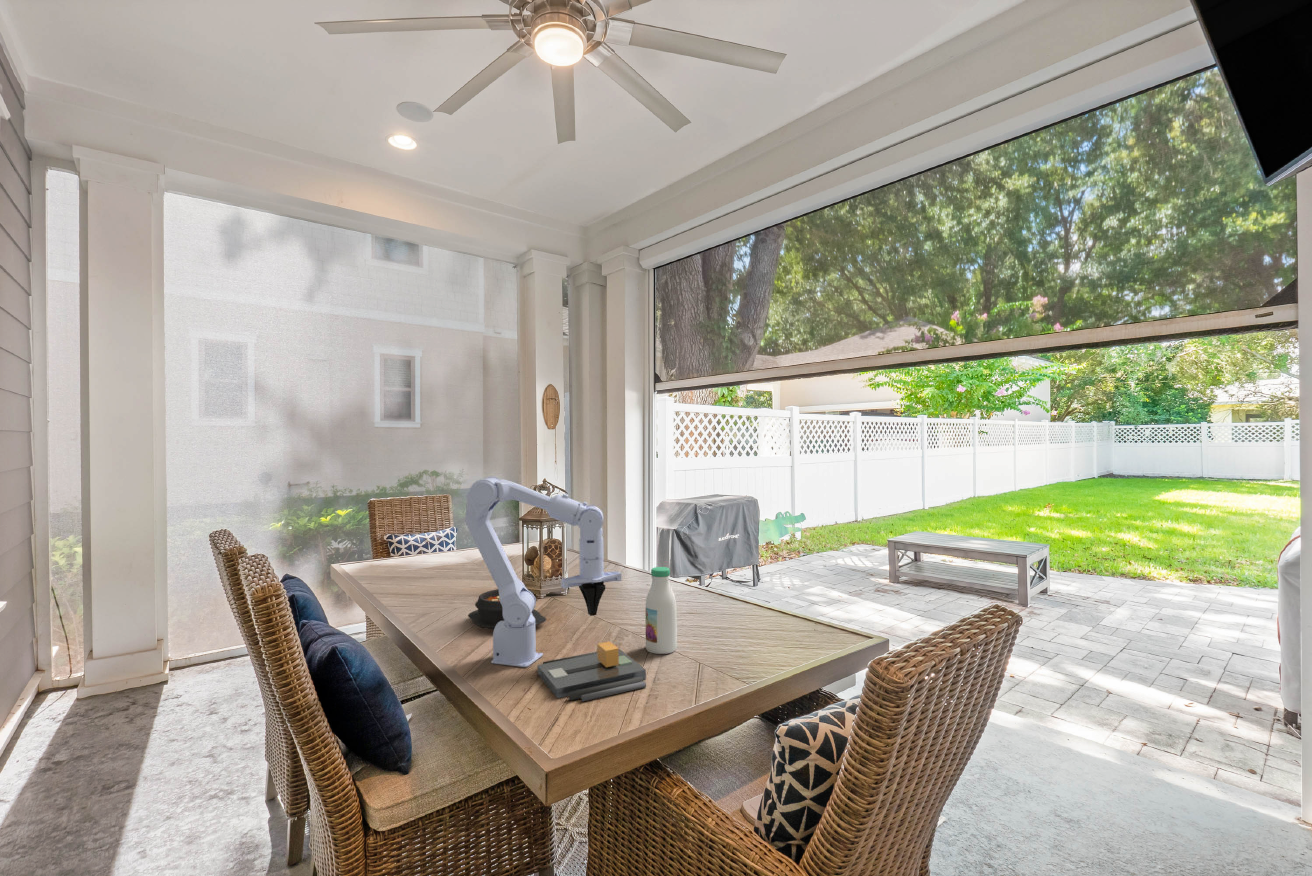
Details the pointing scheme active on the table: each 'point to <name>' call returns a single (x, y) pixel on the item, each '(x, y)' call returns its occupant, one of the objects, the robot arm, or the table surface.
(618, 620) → the table surface
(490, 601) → the casserole
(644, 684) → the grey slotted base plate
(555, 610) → the table surface
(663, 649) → the milk bottle
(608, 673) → the grey flat slab
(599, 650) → the lever
